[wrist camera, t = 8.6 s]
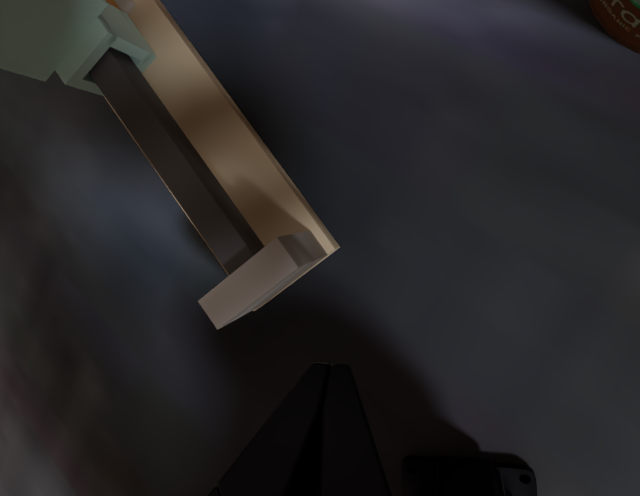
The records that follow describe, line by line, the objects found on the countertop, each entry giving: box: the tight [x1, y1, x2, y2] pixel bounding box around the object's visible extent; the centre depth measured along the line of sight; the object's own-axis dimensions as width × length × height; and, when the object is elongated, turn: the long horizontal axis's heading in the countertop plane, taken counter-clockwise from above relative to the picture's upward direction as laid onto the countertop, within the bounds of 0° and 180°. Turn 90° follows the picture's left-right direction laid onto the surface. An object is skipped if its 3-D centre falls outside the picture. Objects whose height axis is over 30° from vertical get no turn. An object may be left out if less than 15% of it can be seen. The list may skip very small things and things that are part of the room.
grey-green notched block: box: [0, 0, 157, 97], centre depth 18 cm, size 3×5×10 cm, turn 128°
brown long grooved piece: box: [88, 0, 340, 330], centre depth 22 cm, size 20×6×6 cm, turn 38°
